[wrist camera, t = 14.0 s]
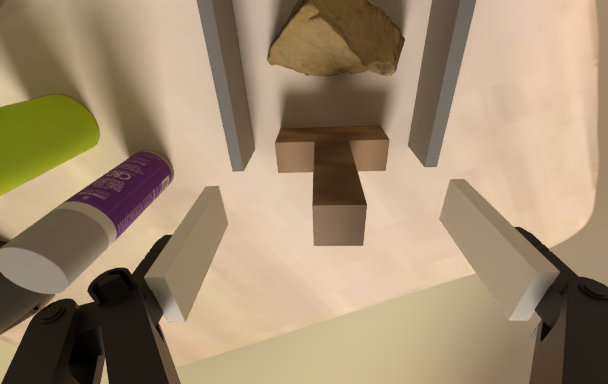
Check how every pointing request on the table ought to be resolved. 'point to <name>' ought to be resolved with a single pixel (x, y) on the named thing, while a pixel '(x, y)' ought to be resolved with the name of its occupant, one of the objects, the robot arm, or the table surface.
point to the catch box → (430, 94)
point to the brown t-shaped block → (334, 175)
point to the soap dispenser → (42, 137)
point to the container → (84, 225)
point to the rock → (337, 39)
